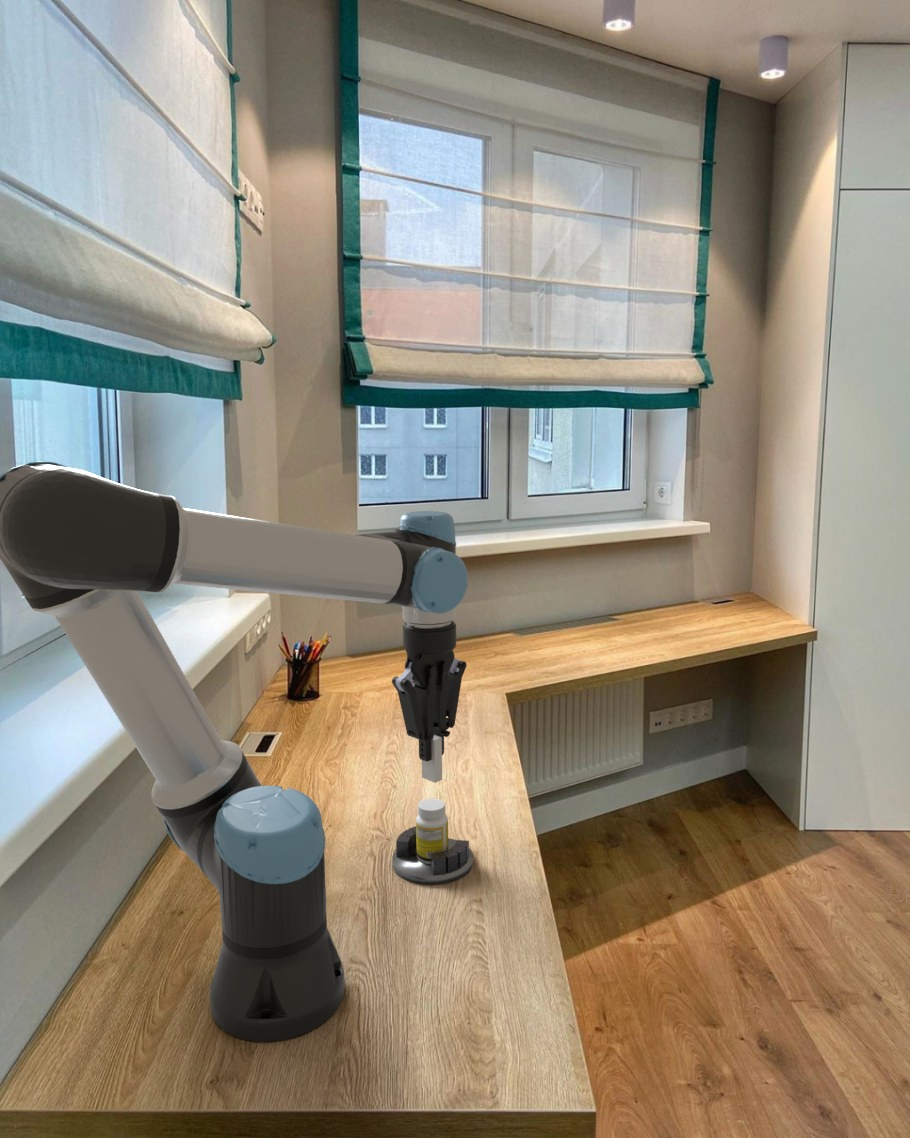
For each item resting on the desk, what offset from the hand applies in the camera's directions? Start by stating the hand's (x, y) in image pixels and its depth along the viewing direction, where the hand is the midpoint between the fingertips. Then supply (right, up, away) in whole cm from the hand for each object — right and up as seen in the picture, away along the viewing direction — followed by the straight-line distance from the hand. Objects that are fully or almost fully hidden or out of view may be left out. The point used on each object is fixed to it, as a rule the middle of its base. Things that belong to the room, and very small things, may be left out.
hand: (432, 778), depth 126 cm
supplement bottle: (0, -12, +2) cm, 13 cm away
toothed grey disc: (0, -13, +2) cm, 13 cm away
